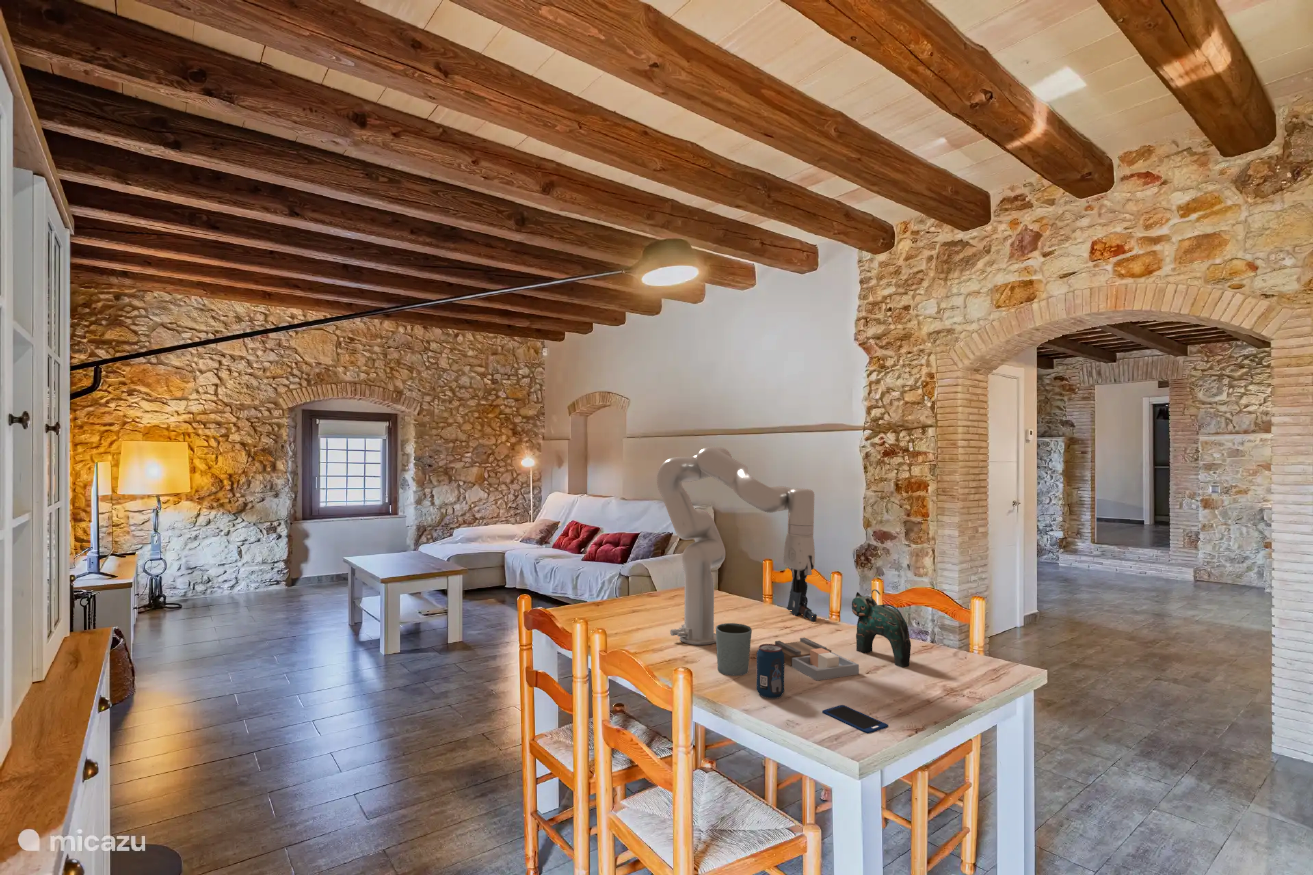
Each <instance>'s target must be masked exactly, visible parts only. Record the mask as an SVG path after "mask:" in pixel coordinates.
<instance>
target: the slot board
mask: <svg viewBox="0 0 1313 875" xmlns="http://www.w3.org/2000/svg"><path fill="white" fill-rule="evenodd" d="M774 644H775V645H779V646H781V647H782V651H783V653H784V665H785V664H786V665H787V666H789V667H791V668H793V667H792V658H796V657H803V656H810V650H811V649H818V648H823V649H825V650H827V651H829V652H830V653H832V650H831V649H830V648H829V649H828V647H826V646H823V645H822V644H820V643H817V642H816V641H814V640H811V639H808V638H806V637H800V638H799V641H793V642H785V643H784V642H783V641H782V640H776V641H774Z"/></svg>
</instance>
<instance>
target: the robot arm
mask: <svg viewBox="0 0 1313 875" xmlns="http://www.w3.org/2000/svg"><path fill="white" fill-rule="evenodd" d="M706 478H707V479H708V478H712V479H714V480H716V481H718V482H720V483H721V484H723V485H725V486H726V487H729V488H730V489H731V490H732V491H733V492H734V493H735V494H736V495H738V497H739V498H741V499H742V500H743V501H744V502H745V503H748V504H749V505H751V506H753V507H754V508H756V509H758V510H760V511H761V512H764V513H769V514H770V513H776V512H781V511H787V533H786V535H785V542H784V548H783V550H784V551H783V564H784V565H785V567H787V569H788V570H789V571H791V572H790V573H791V577H792V579H793V592H796V593H802V592H805V582H806V580H807V577H808V576H811V575H812V573H813V572H812V571H813V570H814V569H815V564H816V563H815V562H816V552H815V541H814V540H815V539H814V532H815V531H814V530H815V529H814V526H815V525H814V524H815V523H814V522H815V492H814V491H813V489H809V488H798V487H797V488H796V487H795V488H794V487H792V488H791V487H786V486H782V485H778V486H768V485H766V484H765V483H763V482H761V481H759V480H758V479H756V478H754V477H753V476H752V475H751V474H750V473H749V470H748V466H747V465H746V464H744V463H742V462H740V461H738V460H737V459H734V458H733V456H732V454H731V452H730V451H729V450H727V449H726V448H724V447H721V446H708V447H707V446H706V447H704V448H702V449H700V450H699V451H698V452H697V454H696V455H693V456H676V457H674V456H673V457H670V458H668V459H666V460H664V462H663V463H662V464H661V465H660V466H659V468H658V471H657V474H656V485H657V488H658V491H659V494H660V497H661V498H662V500H663V502H664V504H665V507H666V511H667V513H668V516H669V518H670V521H671V524H672V527H673V528H674V531H675V534H676V535H677V536H678V538H680V539H681V540H683V541H686V540H687V541H689V540H694V542H692V543H690V544H688V546H686V547H685V548H684V550H683V552H682V555H681V557H682V558H681V564H682V569H683V576H684V622H683V623H684V624H681V627H679V628H677V629H676V628H674V629H673V628H672V629H670V630H669V632H670V636H677V637H678V638H679V640H680V641H681V642H682V643H685V644H688V645H695V646H707V645H713V644H715V643H716V632H715V585H714V583H715V582H714V577H713V572H712V569H713V568H714V569H715V568H717V567H719V566H721V565H722V564H723V562H724V561H725V558H726V548H725V545H724V542H723V540H722V537H721V534H720V532H719V529H718V528H717V524H716V523H715V520H714V517H712V515H711V514H710V513H709V512H708V511H706V510H704V509H702V508H701V509H700V508H695V507H694V505H693V503H692V499H691V497H690V494H689V493H688V492H687V490H686V489H685V488H684V487H683V485H682V484H683V483H691V482H697V481H700V480H704V479H706Z"/></svg>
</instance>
